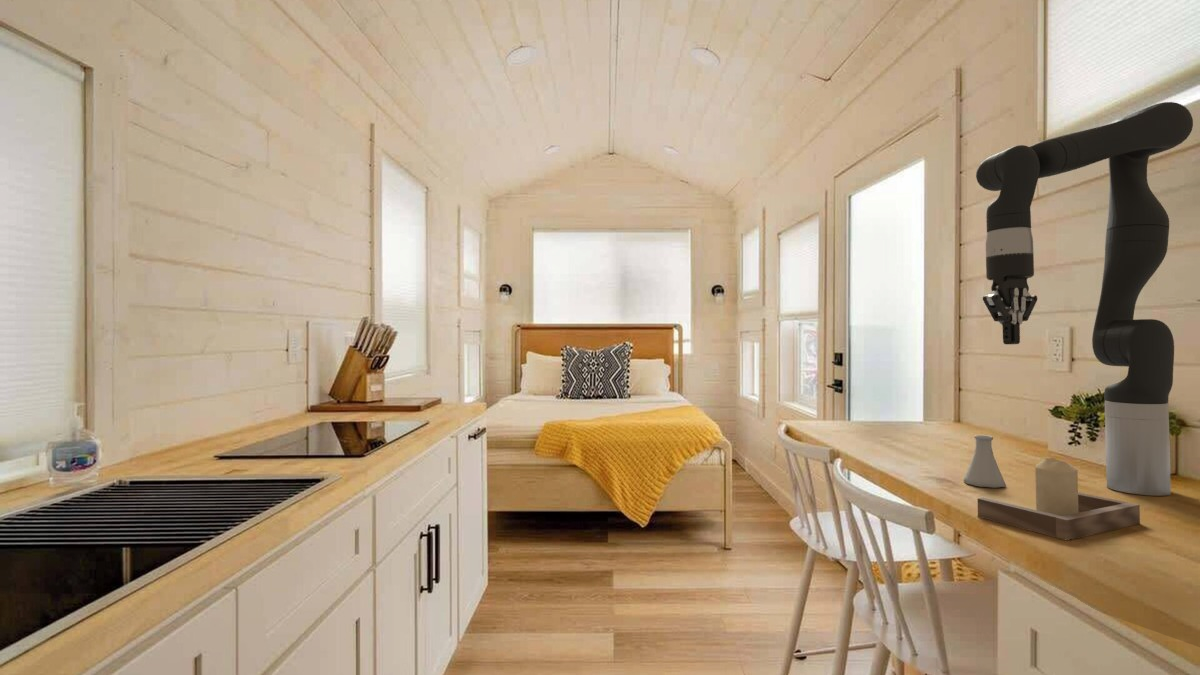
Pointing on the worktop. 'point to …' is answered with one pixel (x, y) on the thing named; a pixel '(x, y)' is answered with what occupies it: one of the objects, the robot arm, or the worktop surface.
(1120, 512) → the walnut bay
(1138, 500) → the worktop surface
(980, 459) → the flask
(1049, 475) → the beige milk carton
